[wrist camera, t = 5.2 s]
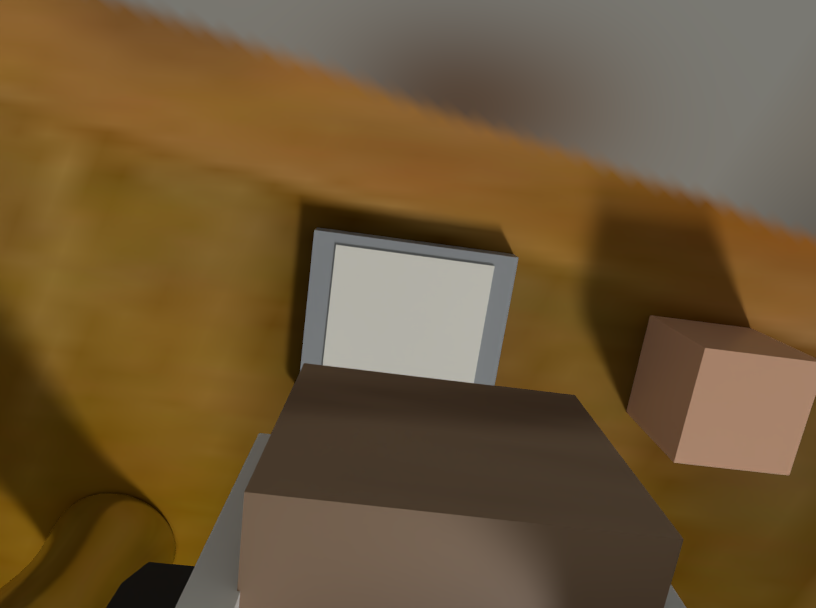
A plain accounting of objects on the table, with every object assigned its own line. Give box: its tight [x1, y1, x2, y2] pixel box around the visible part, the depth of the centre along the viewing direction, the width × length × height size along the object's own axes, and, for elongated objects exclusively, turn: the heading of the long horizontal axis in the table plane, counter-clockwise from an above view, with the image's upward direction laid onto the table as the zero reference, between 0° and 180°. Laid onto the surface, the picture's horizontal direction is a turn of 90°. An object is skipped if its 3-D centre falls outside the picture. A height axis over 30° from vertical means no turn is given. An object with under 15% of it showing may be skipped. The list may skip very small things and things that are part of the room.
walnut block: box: [237, 363, 683, 608], centre depth 11 cm, size 6×6×5 cm
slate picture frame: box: [300, 227, 518, 386], centre depth 26 cm, size 9×8×1 cm
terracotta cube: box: [626, 315, 816, 475], centre depth 26 cm, size 5×5×5 cm
